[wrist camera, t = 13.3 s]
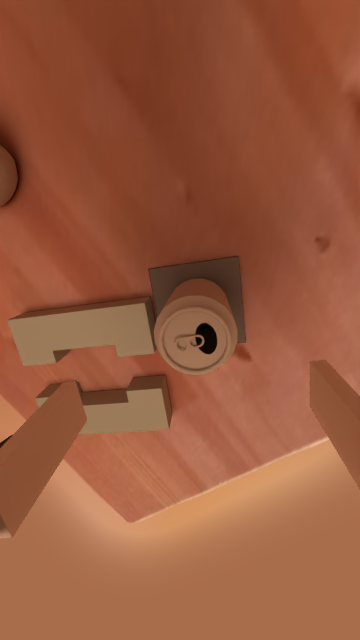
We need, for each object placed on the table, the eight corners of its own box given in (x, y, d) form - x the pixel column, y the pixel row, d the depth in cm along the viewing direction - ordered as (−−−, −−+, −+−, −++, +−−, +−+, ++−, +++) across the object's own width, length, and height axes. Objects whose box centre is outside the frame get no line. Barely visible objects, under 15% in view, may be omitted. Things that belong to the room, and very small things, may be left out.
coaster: (149, 268, 33) (148, 269, 32) (238, 256, 31) (238, 256, 31) (163, 348, 36) (163, 350, 35) (245, 340, 34) (245, 342, 34)
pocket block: (25, 312, 36) (7, 320, 33) (150, 296, 34) (144, 303, 30) (61, 420, 41) (48, 436, 38) (172, 413, 39) (169, 429, 36)
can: (232, 329, 33) (246, 377, 22) (175, 338, 35) (161, 388, 23) (223, 271, 31) (233, 291, 20) (163, 283, 32) (140, 308, 21)
